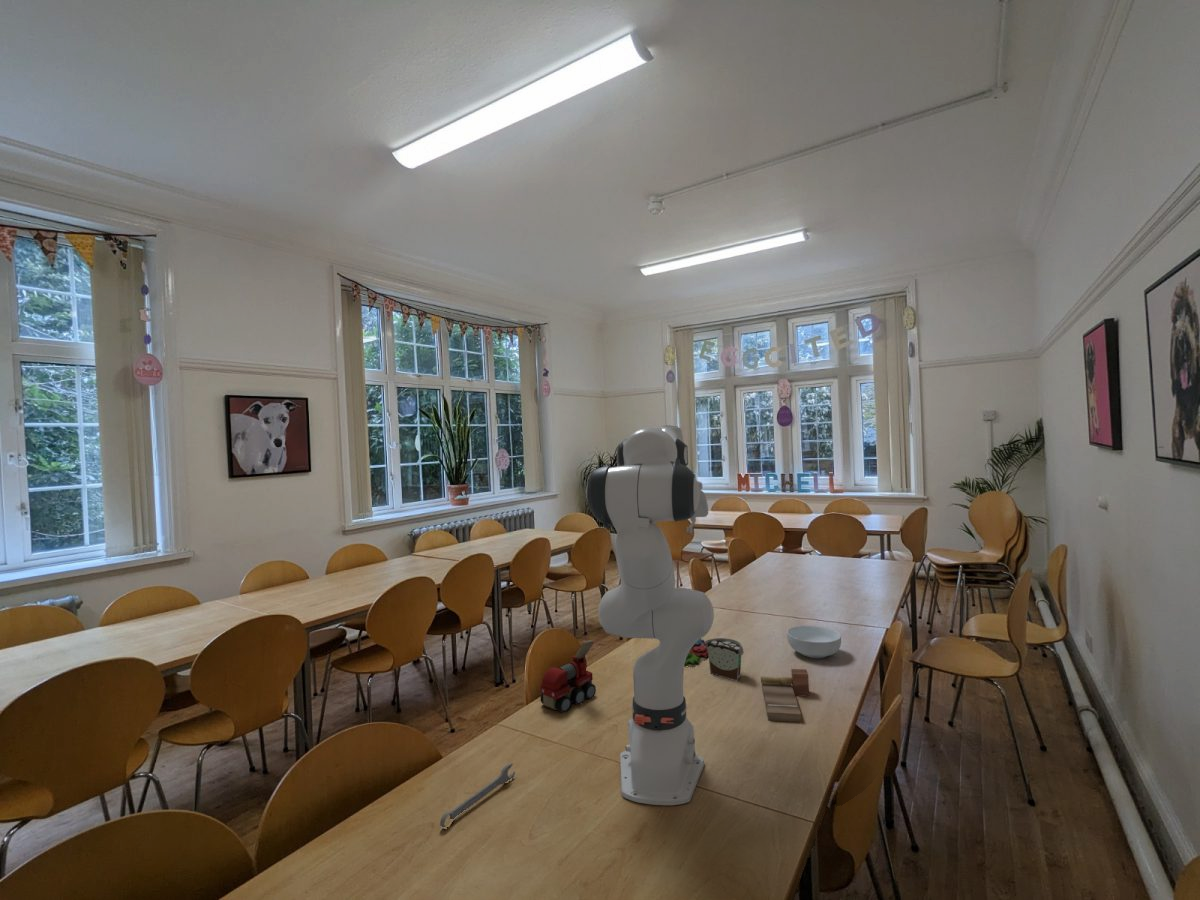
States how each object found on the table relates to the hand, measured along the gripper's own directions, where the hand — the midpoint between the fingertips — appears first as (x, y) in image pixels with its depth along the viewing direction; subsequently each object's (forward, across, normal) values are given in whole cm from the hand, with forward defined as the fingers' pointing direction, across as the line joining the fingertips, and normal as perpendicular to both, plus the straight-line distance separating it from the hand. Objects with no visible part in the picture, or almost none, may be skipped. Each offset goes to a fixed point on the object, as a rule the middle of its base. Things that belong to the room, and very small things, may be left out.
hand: (672, 533), depth 154 cm
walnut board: (+46, +27, -1) cm, 54 cm away
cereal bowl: (+47, +44, +35) cm, 73 cm away
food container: (+47, +15, +18) cm, 52 cm away
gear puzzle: (+47, +1, +32) cm, 57 cm away
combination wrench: (+47, -40, -48) cm, 78 cm away
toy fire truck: (+47, -30, -3) cm, 55 cm away
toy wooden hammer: (+46, +29, +6) cm, 55 cm away
